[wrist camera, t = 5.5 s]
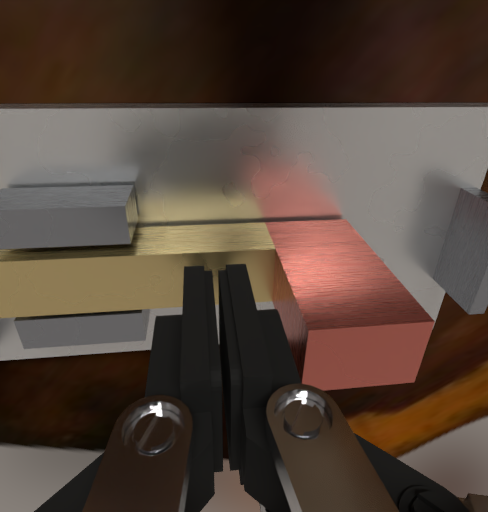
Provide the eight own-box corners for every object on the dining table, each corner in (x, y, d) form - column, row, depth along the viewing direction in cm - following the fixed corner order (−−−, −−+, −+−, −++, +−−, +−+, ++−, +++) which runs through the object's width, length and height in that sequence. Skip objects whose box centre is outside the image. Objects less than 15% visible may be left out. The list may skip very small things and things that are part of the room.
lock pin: (345, 219, 14) (434, 321, 9) (338, 266, 15) (414, 382, 10) (-88, 235, 12) (-286, 373, 7) (-64, 287, 13) (-223, 439, 8)
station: (487, 102, 13) (590, 123, 10) (421, 315, 18) (475, 379, 15) (-452, 105, 10) (-777, 136, 7) (-235, 360, 15) (-363, 455, 12)
